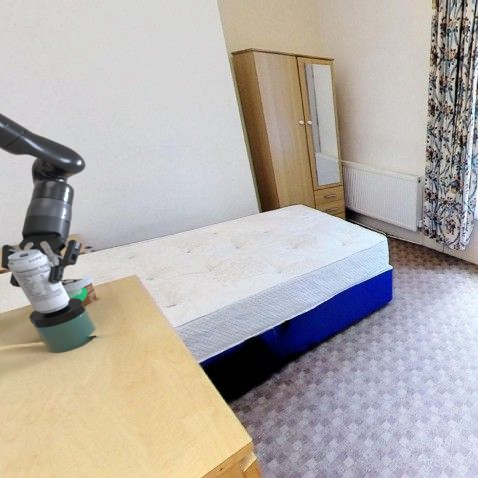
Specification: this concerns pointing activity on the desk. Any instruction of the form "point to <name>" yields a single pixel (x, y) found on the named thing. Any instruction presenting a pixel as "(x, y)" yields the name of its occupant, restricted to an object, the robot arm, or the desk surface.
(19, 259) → the energy drink can
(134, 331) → the desk surface
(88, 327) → the jar
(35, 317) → the jar lid
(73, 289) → the food container
